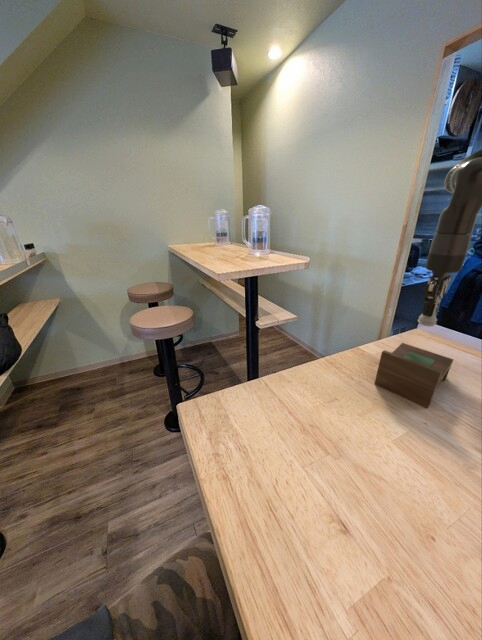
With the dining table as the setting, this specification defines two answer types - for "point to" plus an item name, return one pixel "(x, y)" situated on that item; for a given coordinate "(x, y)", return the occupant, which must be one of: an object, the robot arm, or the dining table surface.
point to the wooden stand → (412, 373)
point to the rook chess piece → (429, 320)
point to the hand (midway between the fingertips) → (429, 313)
